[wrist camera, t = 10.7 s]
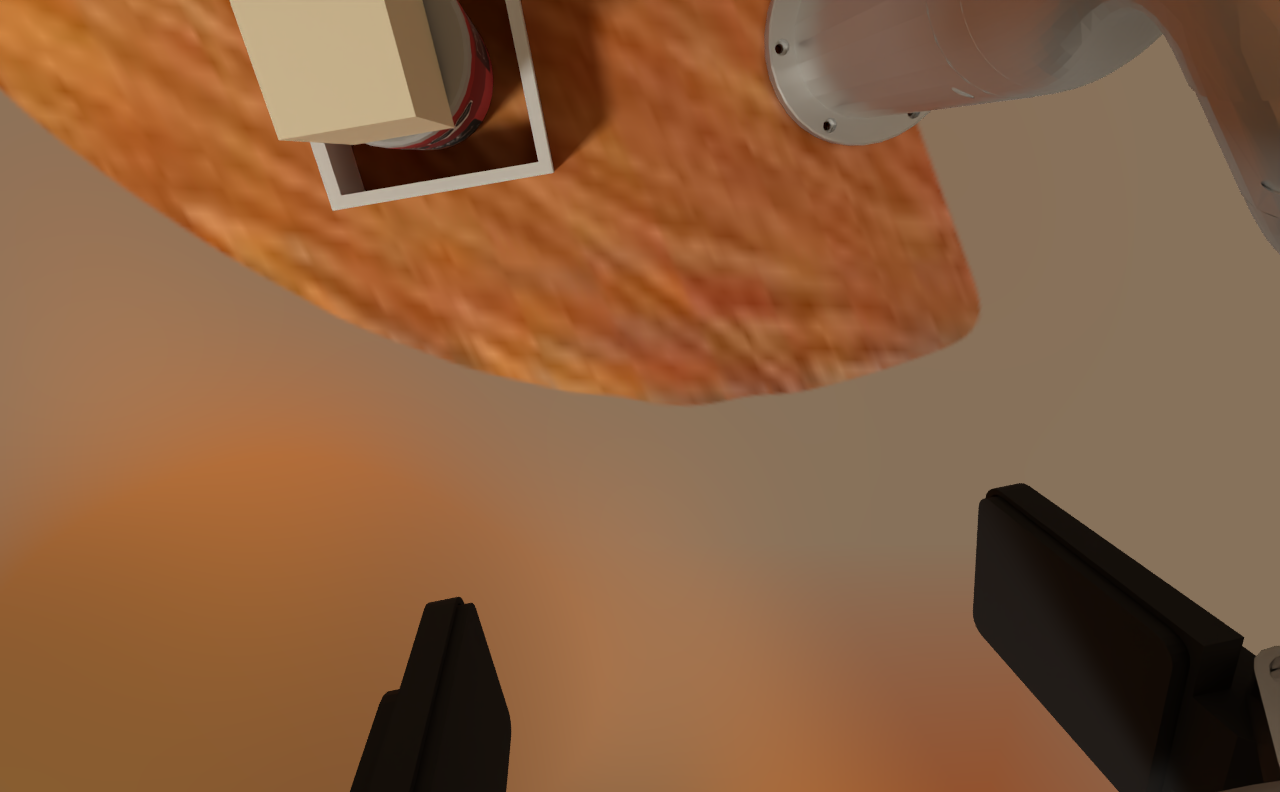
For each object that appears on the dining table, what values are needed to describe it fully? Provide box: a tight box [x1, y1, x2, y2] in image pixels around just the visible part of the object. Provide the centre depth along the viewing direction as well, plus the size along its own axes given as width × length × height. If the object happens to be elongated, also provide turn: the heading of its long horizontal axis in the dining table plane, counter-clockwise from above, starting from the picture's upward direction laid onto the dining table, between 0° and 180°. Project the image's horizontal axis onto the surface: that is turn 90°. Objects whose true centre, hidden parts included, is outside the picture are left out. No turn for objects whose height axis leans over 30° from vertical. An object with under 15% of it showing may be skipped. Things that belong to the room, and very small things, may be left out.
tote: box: [310, 0, 554, 211], centre depth 35 cm, size 12×12×4 cm
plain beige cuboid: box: [230, 0, 455, 145], centre depth 23 cm, size 4×7×8 cm, turn 9°
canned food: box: [365, 0, 493, 150], centre depth 32 cm, size 8×8×11 cm
